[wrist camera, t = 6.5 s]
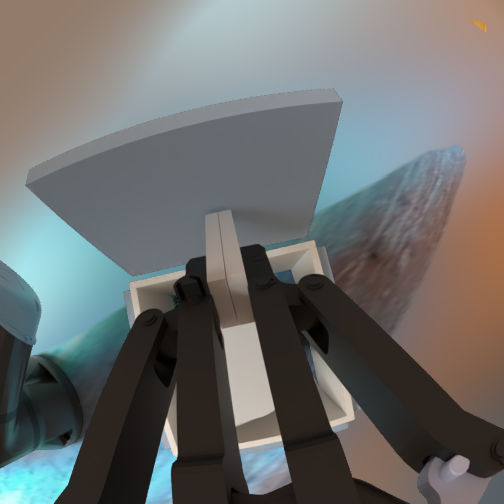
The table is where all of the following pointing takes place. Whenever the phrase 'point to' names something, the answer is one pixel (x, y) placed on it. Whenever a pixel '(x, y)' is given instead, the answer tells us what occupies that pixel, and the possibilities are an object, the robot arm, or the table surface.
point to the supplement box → (247, 374)
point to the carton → (330, 388)
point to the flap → (196, 178)
